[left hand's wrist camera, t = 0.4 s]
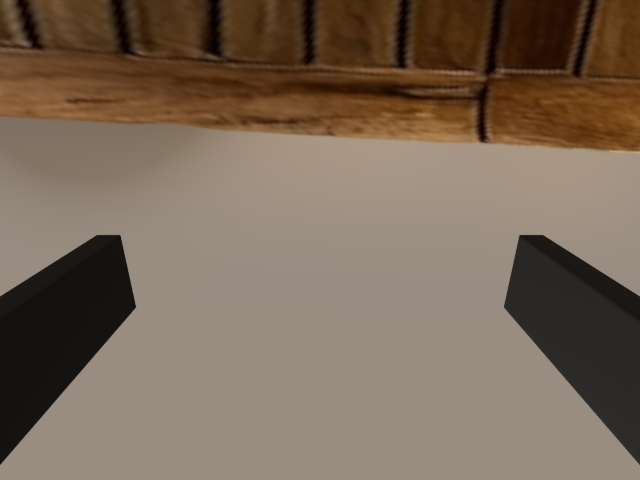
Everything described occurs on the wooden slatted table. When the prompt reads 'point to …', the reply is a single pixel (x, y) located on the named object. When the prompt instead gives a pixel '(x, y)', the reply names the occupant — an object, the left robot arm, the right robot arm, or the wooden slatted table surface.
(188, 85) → the wooden slatted table surface
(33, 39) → the wooden slatted table surface
